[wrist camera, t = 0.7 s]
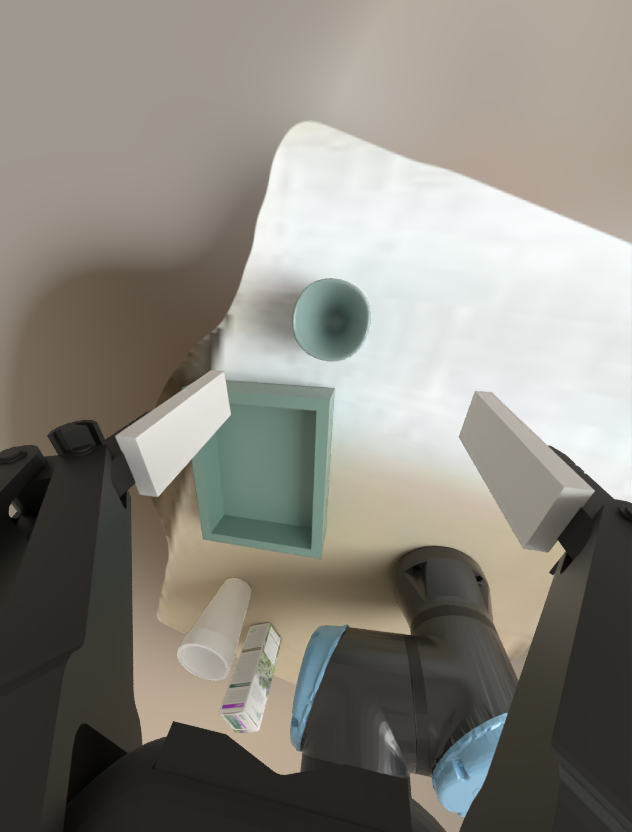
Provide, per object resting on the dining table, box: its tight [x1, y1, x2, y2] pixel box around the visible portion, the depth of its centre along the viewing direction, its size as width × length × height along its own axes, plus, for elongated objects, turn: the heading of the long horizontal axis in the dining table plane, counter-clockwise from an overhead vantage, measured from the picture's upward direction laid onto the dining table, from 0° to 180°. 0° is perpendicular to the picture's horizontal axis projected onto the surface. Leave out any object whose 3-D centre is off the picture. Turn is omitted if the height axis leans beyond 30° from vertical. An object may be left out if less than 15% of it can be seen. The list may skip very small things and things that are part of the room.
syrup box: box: [219, 623, 282, 733], centre depth 52 cm, size 6×6×14 cm
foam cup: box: [177, 578, 252, 681], centre depth 50 cm, size 10×9×13 cm
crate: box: [182, 380, 335, 559], centre depth 41 cm, size 26×20×6 cm
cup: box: [292, 278, 371, 361], centre depth 30 cm, size 8×8×10 cm
